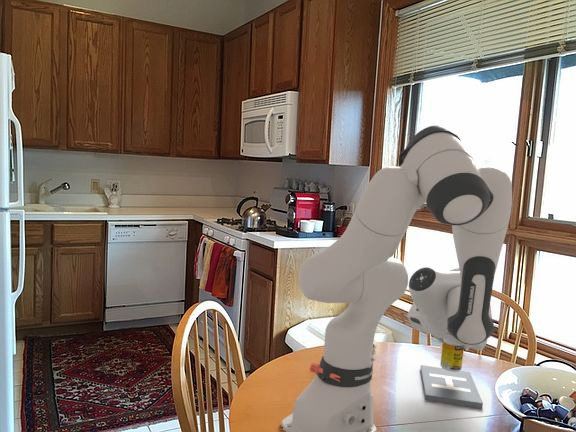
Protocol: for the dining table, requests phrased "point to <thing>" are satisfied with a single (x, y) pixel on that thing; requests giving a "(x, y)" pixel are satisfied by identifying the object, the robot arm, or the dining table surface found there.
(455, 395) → the gray board
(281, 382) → the dining table surface
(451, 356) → the supplement bottle
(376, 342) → the pale yellow block
